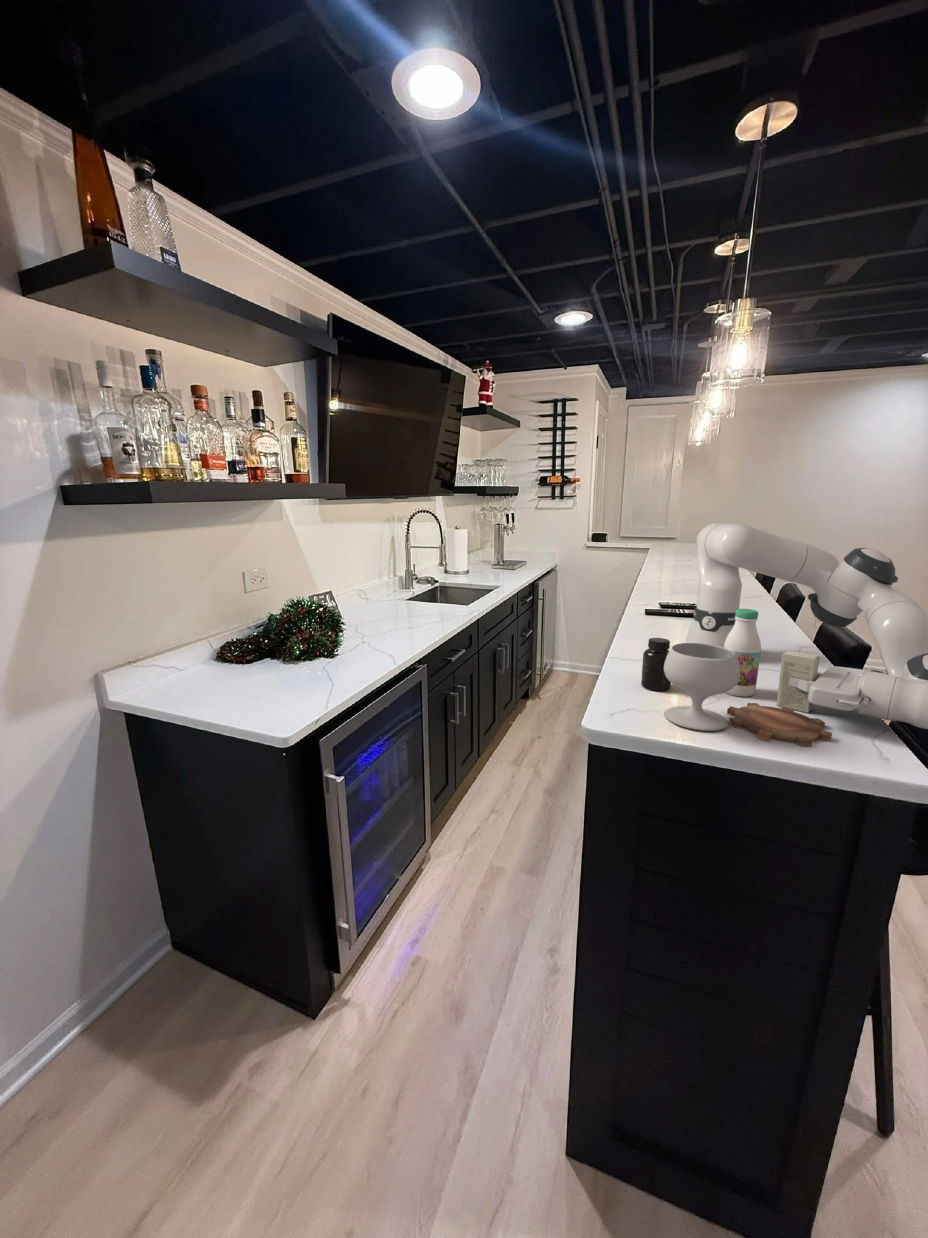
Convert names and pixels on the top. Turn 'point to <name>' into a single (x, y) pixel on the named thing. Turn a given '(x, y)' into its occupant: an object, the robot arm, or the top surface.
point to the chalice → (700, 682)
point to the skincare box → (799, 668)
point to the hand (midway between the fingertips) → (793, 677)
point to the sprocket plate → (778, 724)
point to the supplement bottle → (655, 665)
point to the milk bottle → (745, 651)
